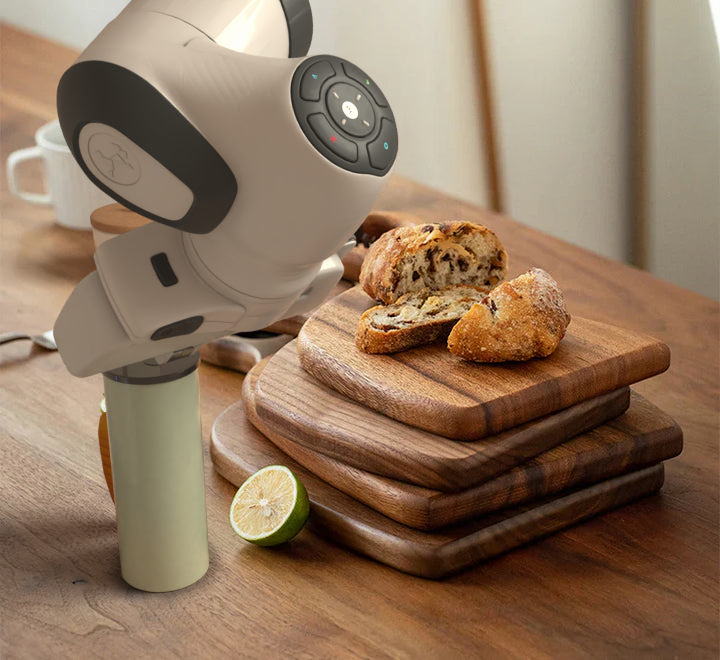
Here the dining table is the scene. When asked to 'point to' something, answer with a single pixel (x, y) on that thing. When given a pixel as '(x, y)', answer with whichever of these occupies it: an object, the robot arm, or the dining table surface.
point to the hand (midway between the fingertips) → (171, 351)
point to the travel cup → (158, 472)
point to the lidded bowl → (114, 222)
